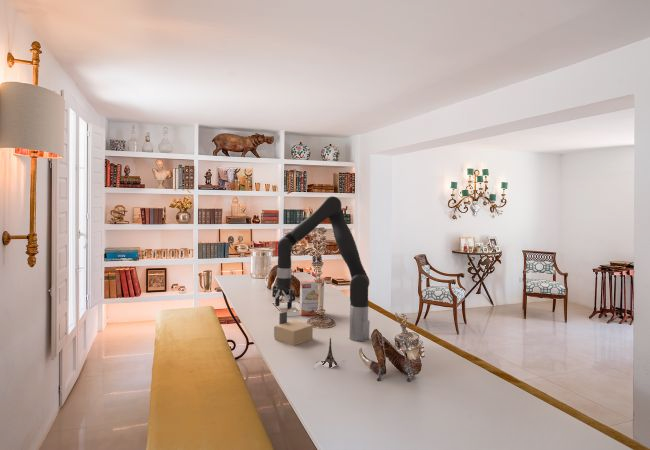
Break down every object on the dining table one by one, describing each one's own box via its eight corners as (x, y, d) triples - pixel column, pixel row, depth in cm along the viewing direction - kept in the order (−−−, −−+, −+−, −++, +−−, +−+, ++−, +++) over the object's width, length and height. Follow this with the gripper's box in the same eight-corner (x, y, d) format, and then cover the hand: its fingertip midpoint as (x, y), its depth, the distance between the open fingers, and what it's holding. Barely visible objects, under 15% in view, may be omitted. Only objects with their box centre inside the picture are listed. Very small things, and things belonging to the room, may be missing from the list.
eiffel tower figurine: (345, 361, 189) (346, 331, 188) (349, 370, 179) (349, 339, 178) (311, 361, 188) (312, 331, 187) (313, 370, 177) (314, 339, 177)
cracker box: (301, 316, 258) (301, 282, 257) (299, 313, 264) (299, 280, 263) (323, 315, 262) (324, 281, 261) (321, 312, 268) (321, 279, 267)
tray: (310, 336, 217) (310, 314, 217) (292, 343, 207) (292, 320, 206) (290, 331, 226) (291, 309, 225) (272, 336, 216) (273, 314, 215)
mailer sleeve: (312, 338, 217) (312, 325, 216) (293, 345, 206) (293, 331, 206) (294, 333, 225) (294, 320, 225) (274, 339, 214) (275, 325, 214)
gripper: (299, 277, 217) (298, 308, 218) (279, 273, 226) (278, 303, 227) (288, 279, 211) (288, 311, 212) (269, 275, 220) (268, 306, 221)
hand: (283, 307), depth 220 cm, fingers open, 8 cm apart
